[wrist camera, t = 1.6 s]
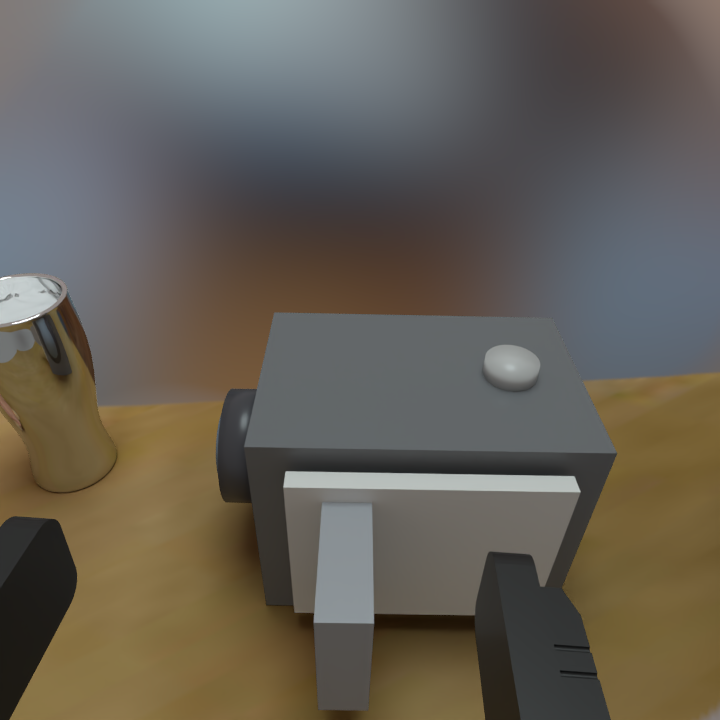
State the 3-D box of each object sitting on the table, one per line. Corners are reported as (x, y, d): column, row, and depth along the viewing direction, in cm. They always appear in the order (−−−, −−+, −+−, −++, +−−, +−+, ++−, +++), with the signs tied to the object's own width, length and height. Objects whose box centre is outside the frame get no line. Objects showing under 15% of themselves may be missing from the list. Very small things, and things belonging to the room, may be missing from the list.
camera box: (513, 466, 46) (555, 304, 37) (553, 612, 36) (624, 441, 27) (251, 461, 46) (229, 298, 37) (220, 607, 36) (180, 434, 27)
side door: (529, 600, 35) (574, 476, 28) (561, 730, 29) (626, 613, 22) (296, 596, 35) (285, 471, 28) (283, 726, 29) (266, 608, 22)
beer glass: (134, 472, 45) (82, 306, 36) (37, 513, 41) (-48, 342, 32) (109, 420, 49) (57, 262, 40) (19, 453, 46) (-59, 289, 37)
